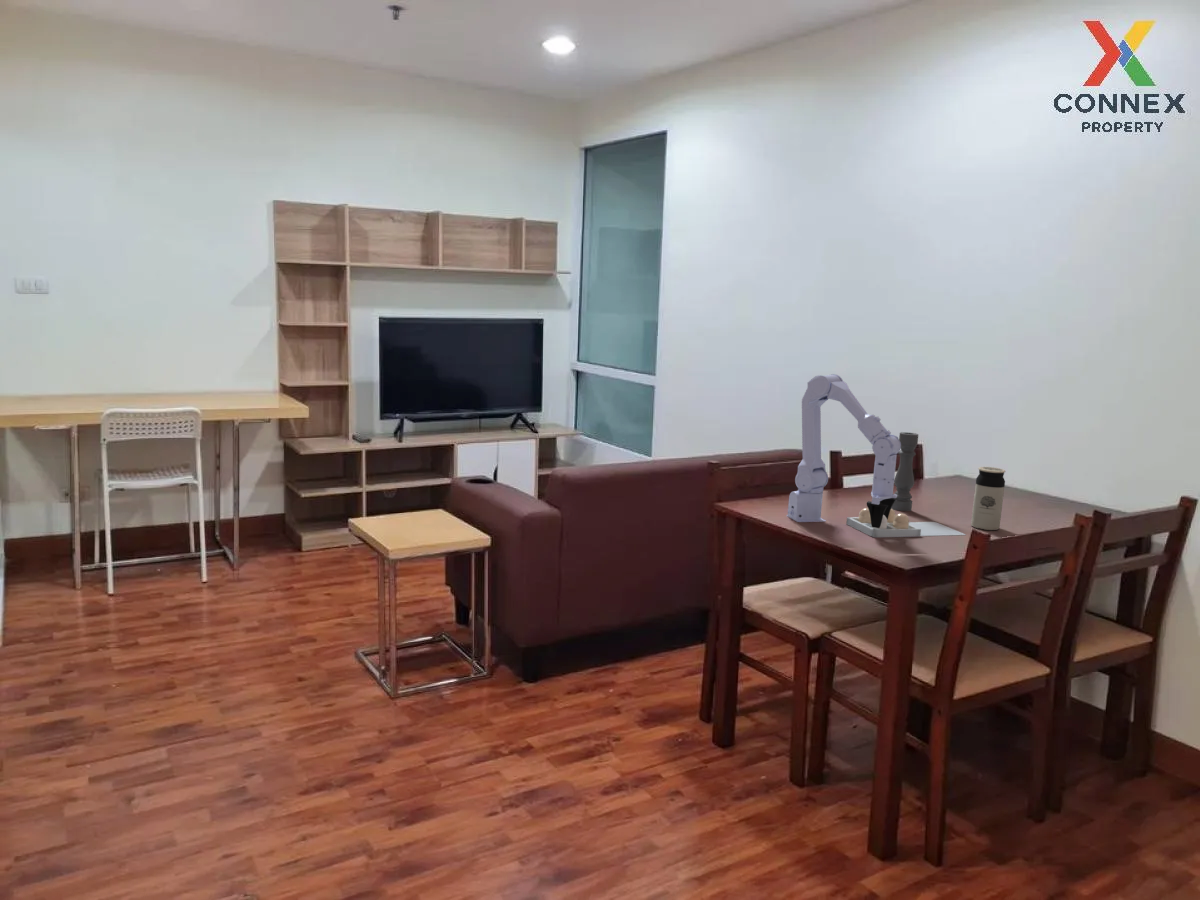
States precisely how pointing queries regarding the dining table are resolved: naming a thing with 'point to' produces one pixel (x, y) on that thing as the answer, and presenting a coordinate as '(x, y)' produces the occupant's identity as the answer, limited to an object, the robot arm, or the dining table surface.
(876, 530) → the egg carton
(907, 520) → the brown egg back
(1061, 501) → the dining table surface
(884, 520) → the white egg
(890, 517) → the brown egg far
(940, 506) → the dining table surface
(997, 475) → the travel mug
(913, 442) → the candle holder
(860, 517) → the brown egg left
